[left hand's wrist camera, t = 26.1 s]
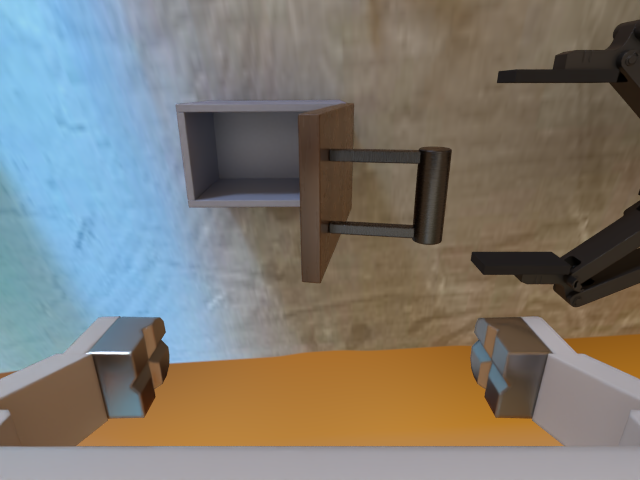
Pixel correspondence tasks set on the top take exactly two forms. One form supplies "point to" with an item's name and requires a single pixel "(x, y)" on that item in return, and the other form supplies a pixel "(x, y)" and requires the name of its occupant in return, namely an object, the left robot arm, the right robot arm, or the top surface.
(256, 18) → the top surface
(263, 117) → the chest
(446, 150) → the block with bar handle
